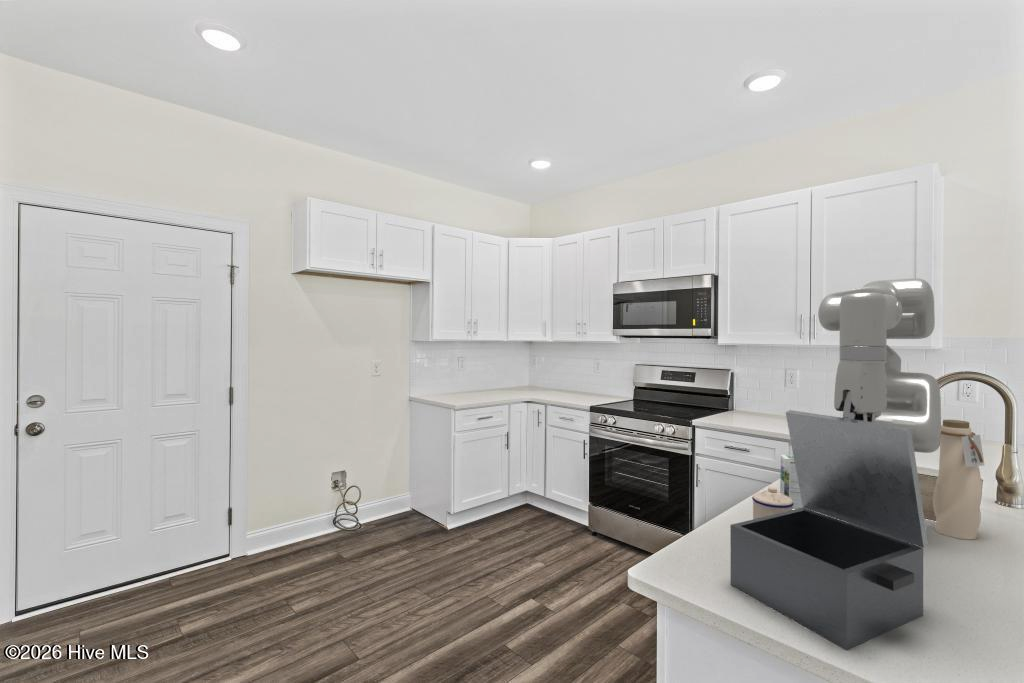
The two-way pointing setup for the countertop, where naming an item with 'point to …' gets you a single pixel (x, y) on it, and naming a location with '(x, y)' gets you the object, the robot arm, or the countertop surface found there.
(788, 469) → the syrup box
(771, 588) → the grey lidded box
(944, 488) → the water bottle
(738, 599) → the countertop surface
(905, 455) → the cooker lid
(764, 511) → the teacup with lid
